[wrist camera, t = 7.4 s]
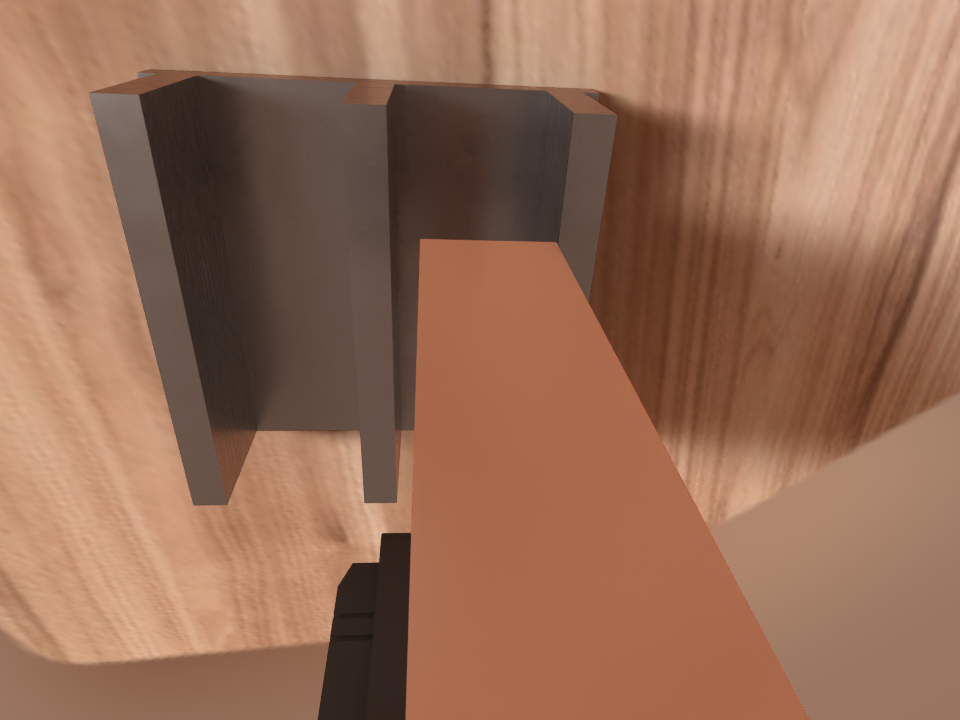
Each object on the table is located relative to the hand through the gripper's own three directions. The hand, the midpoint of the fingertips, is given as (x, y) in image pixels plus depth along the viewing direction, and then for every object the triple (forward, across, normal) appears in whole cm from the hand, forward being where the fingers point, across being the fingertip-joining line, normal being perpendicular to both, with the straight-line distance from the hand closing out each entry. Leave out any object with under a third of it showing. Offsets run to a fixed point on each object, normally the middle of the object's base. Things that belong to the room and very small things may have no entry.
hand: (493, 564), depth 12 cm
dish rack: (+15, +3, 0) cm, 15 cm away
